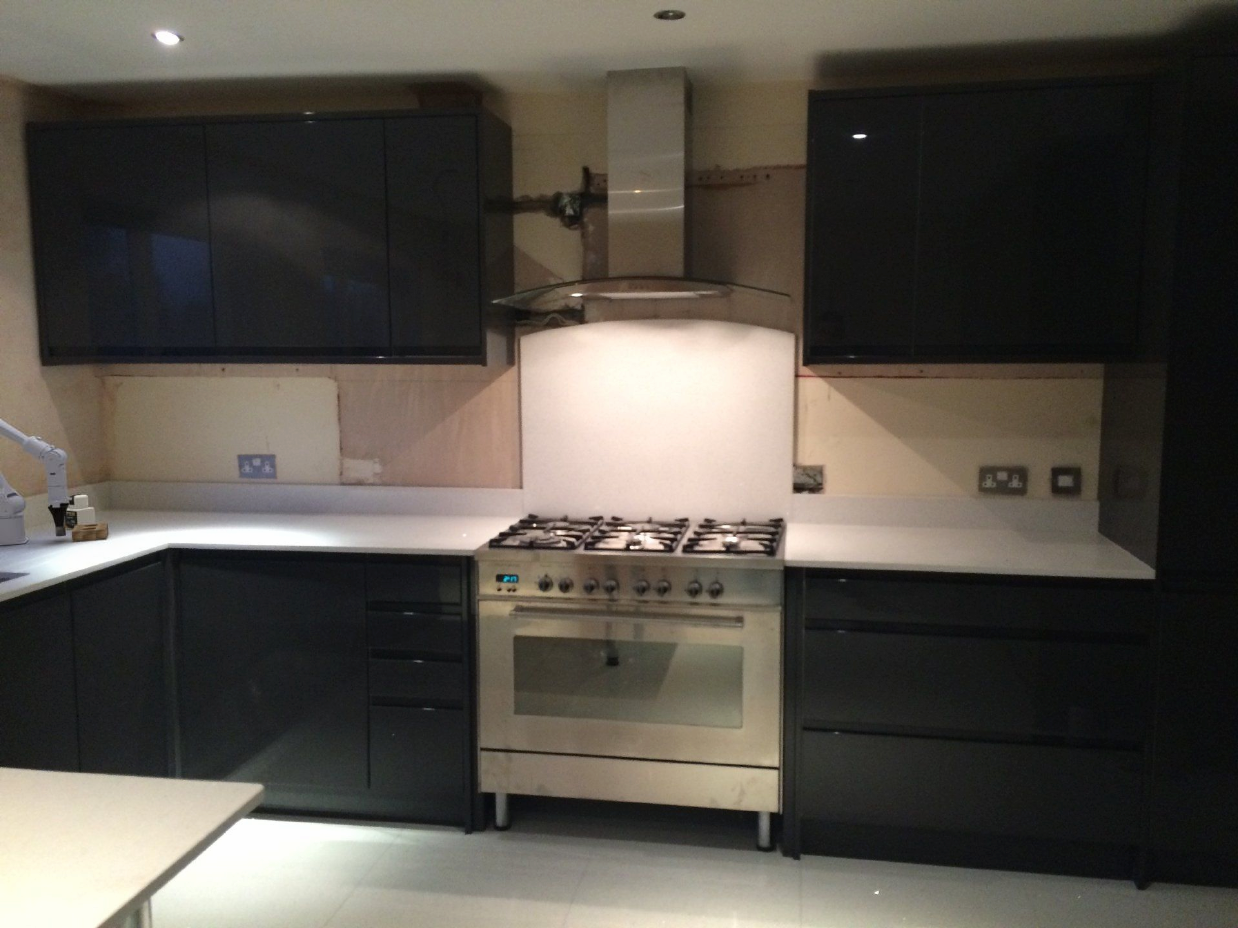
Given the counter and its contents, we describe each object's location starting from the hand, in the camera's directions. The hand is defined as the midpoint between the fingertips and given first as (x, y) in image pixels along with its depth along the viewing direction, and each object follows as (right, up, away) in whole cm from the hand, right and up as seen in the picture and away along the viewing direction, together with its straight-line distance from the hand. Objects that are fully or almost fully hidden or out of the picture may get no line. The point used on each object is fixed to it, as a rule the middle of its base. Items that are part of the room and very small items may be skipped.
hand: (60, 525), depth 335 cm
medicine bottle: (-7, -3, +26) cm, 27 cm away
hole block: (+7, -4, +7) cm, 10 cm away
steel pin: (0, -3, 0) cm, 3 cm away
